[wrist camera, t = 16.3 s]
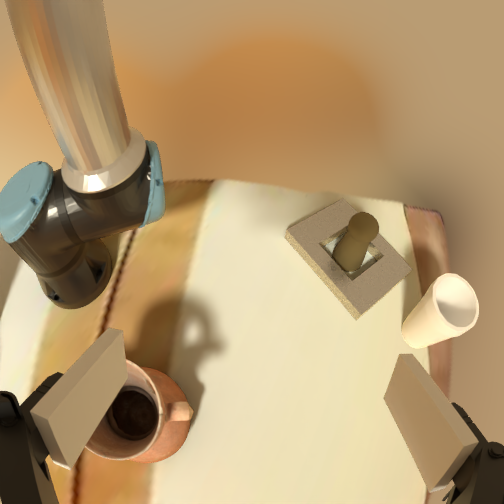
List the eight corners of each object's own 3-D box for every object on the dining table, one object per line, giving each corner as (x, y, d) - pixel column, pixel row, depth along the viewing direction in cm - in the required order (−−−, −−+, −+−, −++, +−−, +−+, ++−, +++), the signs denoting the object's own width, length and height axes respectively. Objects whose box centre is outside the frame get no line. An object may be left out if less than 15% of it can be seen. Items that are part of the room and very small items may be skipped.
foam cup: (421, 367, 44) (466, 344, 33) (384, 335, 48) (423, 304, 37) (443, 328, 48) (484, 298, 37) (409, 298, 51) (445, 262, 41)
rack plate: (284, 237, 57) (286, 229, 55) (339, 206, 62) (342, 198, 60) (356, 320, 49) (361, 315, 47) (406, 275, 54) (412, 269, 52)
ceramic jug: (198, 369, 44) (180, 343, 32) (206, 461, 36) (189, 474, 24) (92, 369, 42) (45, 343, 30) (93, 455, 34) (42, 456, 23)
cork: (349, 239, 58) (368, 202, 49) (368, 263, 55) (391, 228, 46) (325, 251, 56) (341, 213, 47) (344, 276, 53) (365, 241, 44)
